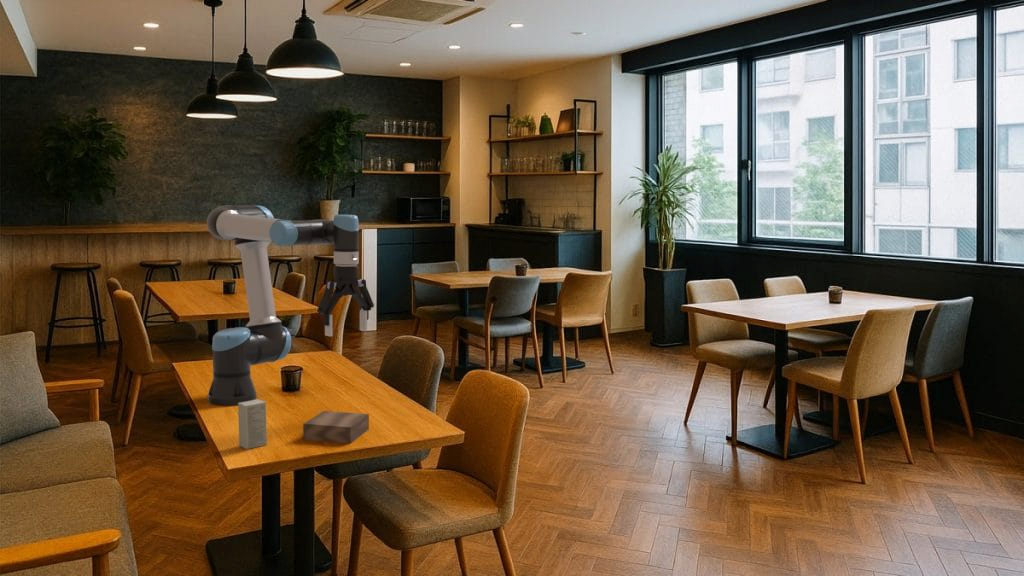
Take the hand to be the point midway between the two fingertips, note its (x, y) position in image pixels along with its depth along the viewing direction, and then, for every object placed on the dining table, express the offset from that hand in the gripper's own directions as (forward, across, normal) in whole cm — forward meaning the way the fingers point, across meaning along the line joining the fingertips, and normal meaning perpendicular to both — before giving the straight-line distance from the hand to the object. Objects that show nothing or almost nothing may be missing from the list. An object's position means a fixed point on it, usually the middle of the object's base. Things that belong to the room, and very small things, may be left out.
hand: (346, 333), depth 250 cm
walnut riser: (+26, -16, -16) cm, 34 cm away
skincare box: (+26, -38, -7) cm, 46 cm away
